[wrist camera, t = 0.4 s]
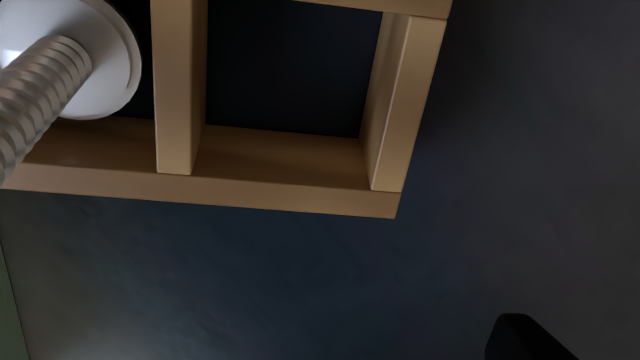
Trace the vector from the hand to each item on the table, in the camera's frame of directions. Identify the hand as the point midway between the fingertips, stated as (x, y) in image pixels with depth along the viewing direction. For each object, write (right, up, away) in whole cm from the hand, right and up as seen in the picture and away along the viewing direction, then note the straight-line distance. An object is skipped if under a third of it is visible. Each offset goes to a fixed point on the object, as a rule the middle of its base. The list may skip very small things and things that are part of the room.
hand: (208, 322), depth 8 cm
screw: (-7, +8, +12) cm, 16 cm away
